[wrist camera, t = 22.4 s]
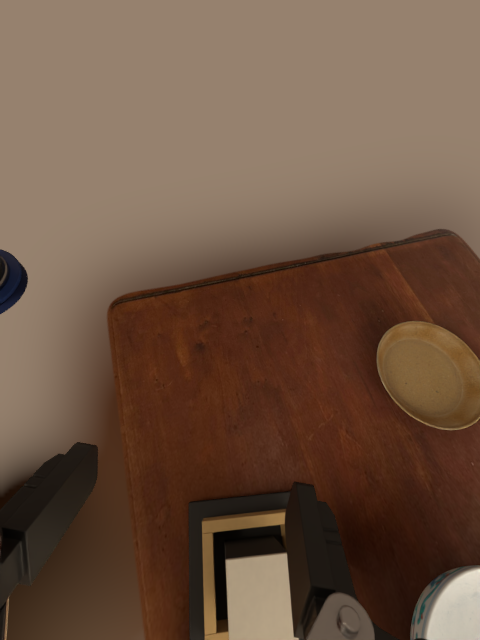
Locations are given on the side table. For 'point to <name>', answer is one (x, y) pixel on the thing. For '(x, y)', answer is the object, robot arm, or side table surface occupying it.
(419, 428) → the side table surface
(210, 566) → the wooden socket on base
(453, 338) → the plant saucer
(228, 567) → the block
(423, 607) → the chinaware
